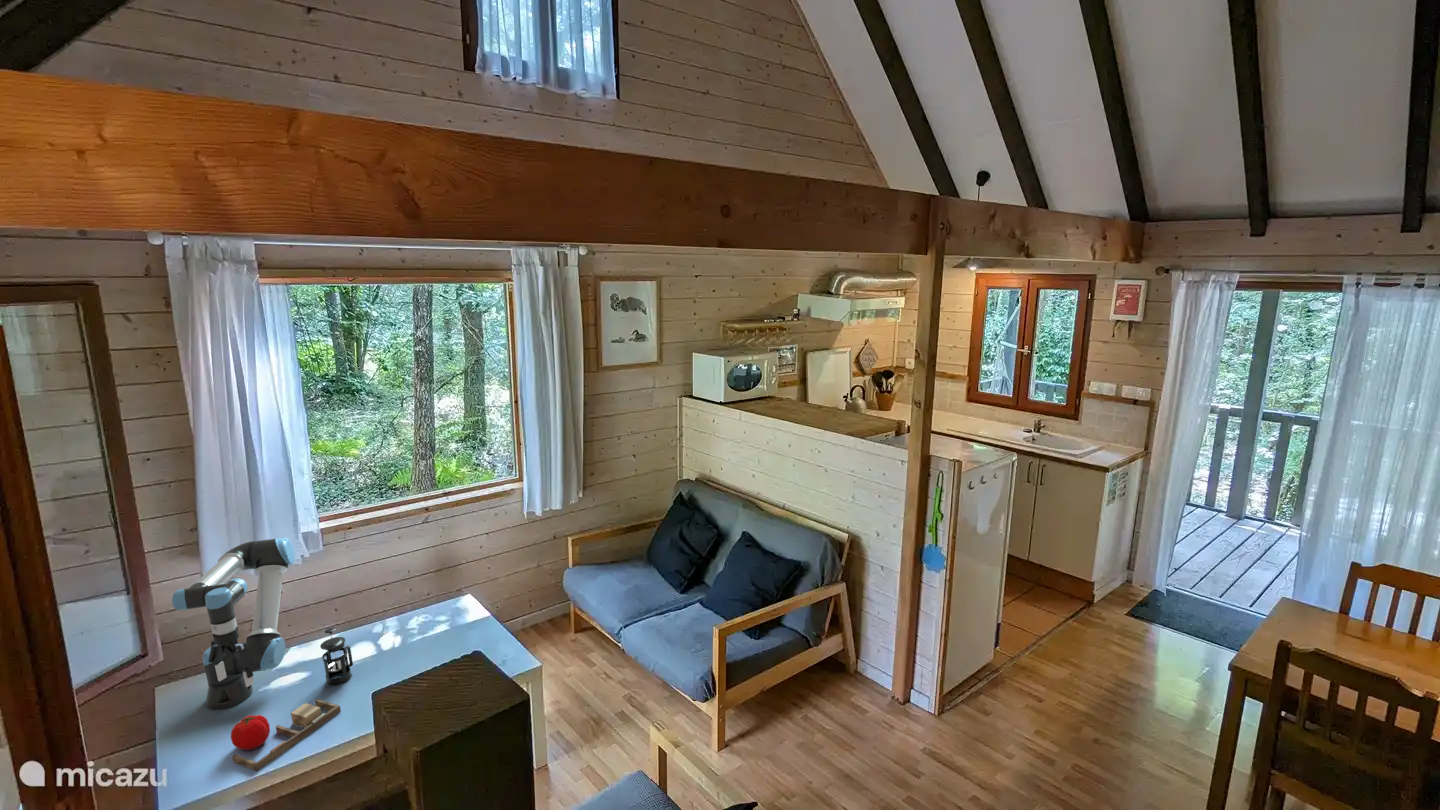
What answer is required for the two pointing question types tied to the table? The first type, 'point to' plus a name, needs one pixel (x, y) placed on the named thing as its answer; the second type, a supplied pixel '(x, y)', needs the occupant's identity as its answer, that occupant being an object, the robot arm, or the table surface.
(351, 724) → the table surface
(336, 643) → the french press
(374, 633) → the table surface
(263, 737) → the tomato
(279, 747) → the rack
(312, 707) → the light wooden block
